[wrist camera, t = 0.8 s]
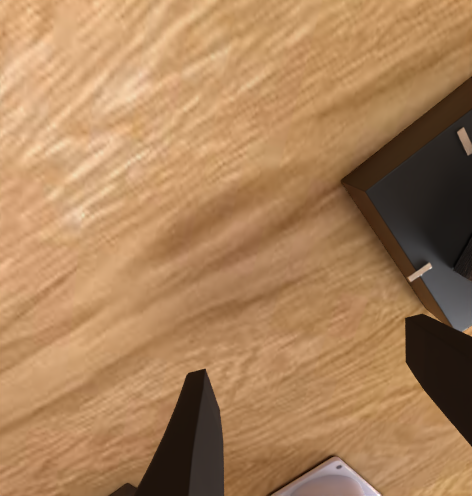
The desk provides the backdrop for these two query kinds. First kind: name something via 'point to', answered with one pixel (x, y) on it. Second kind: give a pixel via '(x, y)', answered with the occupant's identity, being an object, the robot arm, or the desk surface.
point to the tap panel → (425, 204)
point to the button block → (125, 491)
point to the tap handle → (465, 262)
